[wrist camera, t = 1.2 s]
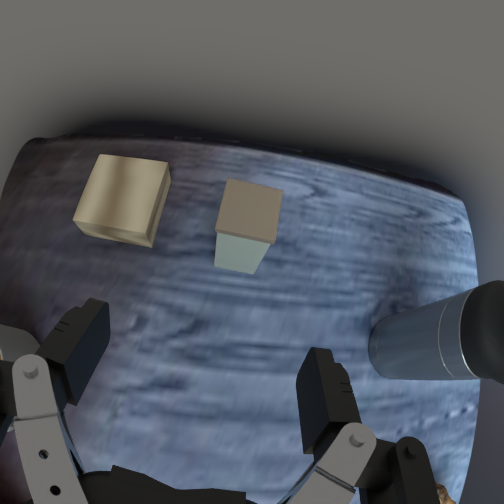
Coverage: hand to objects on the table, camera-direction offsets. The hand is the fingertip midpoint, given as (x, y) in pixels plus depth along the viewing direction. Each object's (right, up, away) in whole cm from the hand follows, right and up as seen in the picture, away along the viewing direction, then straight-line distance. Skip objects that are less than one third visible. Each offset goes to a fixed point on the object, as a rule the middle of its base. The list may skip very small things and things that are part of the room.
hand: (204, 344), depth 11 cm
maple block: (-15, +10, +28) cm, 33 cm away
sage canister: (0, +4, +28) cm, 28 cm away
